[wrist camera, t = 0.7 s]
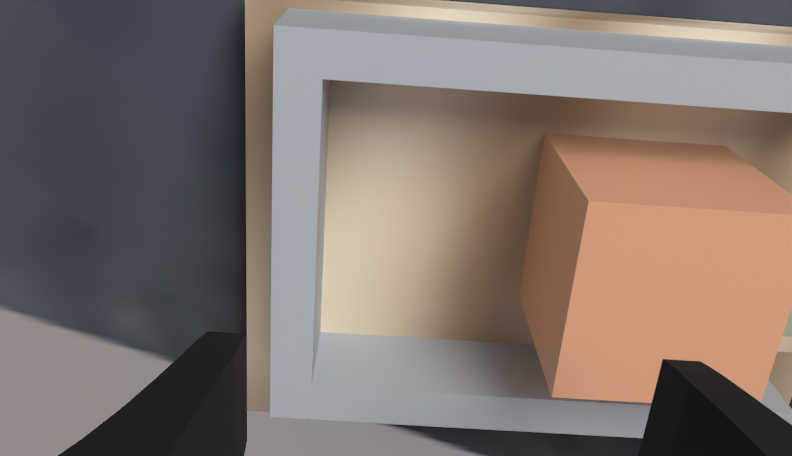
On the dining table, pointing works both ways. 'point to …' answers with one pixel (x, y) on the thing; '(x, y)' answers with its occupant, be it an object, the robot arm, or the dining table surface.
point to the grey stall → (471, 70)
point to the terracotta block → (653, 265)
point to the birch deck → (458, 180)
